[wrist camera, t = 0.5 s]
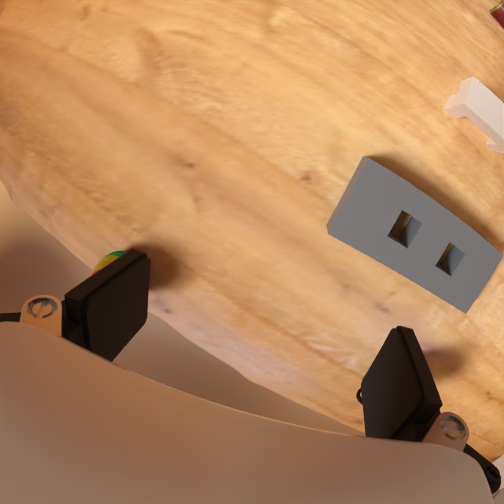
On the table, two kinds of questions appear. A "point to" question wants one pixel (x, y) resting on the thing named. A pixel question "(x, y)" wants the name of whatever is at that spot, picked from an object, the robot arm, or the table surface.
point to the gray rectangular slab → (413, 235)
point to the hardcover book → (498, 13)
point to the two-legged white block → (480, 110)
